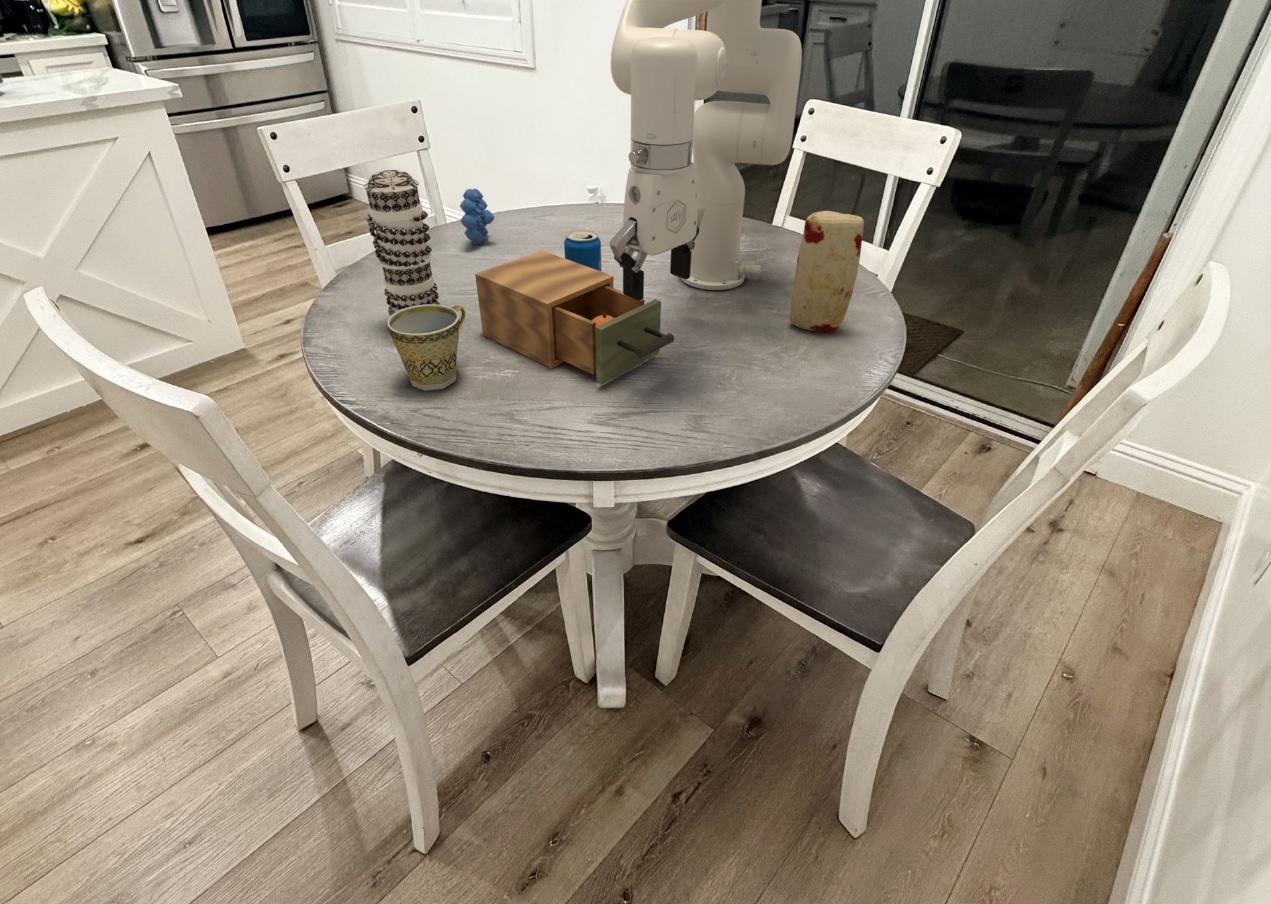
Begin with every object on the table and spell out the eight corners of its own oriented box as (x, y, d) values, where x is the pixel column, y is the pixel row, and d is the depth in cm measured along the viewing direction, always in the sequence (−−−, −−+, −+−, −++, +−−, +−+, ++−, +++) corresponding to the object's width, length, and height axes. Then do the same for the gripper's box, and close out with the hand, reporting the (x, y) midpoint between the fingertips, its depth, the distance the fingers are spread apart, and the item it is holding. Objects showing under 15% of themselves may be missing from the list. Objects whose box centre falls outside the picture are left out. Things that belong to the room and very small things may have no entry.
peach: (591, 339, 112) (591, 303, 109) (626, 343, 112) (626, 307, 108) (582, 356, 108) (581, 320, 104) (618, 360, 107) (618, 324, 103)
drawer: (685, 364, 109) (688, 311, 103) (628, 397, 101) (629, 341, 95) (589, 324, 120) (587, 274, 114) (531, 351, 112) (526, 298, 106)
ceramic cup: (434, 404, 100) (422, 340, 94) (385, 384, 105) (371, 323, 99) (495, 366, 109) (487, 306, 103) (447, 350, 114) (438, 291, 108)
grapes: (489, 254, 148) (482, 196, 141) (458, 252, 149) (450, 194, 141) (505, 236, 157) (499, 180, 150) (475, 234, 158) (468, 179, 151)
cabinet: (614, 337, 118) (613, 276, 111) (551, 368, 109) (547, 303, 103) (545, 308, 127) (541, 250, 120) (482, 335, 118) (474, 273, 112)
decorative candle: (427, 309, 126) (401, 162, 111) (455, 326, 121) (432, 174, 106) (380, 325, 121) (346, 173, 106) (407, 343, 115) (376, 186, 101)
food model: (786, 333, 119) (804, 215, 108) (788, 317, 125) (805, 202, 113) (845, 339, 118) (869, 220, 106) (844, 322, 123) (868, 207, 111)
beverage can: (597, 307, 127) (595, 242, 120) (562, 304, 128) (559, 239, 121) (605, 293, 132) (604, 230, 125) (572, 290, 133) (569, 227, 126)
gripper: (636, 173, 79) (634, 314, 89) (728, 147, 89) (717, 276, 99) (589, 161, 83) (593, 297, 93) (682, 138, 93) (676, 262, 103)
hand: (657, 286), depth 96 cm, fingers open, 9 cm apart
